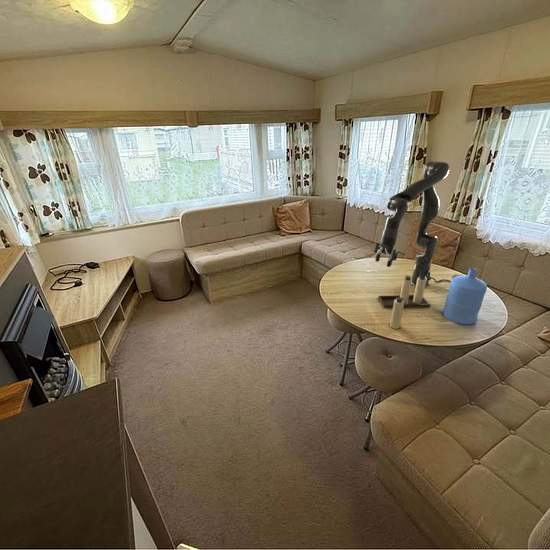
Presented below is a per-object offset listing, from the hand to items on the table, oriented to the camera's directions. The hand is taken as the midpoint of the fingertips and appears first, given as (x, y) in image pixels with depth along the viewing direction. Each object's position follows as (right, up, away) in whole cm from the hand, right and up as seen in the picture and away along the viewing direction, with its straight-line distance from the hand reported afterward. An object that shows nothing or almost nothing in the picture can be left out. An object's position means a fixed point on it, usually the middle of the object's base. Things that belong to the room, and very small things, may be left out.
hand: (382, 263), depth 166 cm
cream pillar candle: (+2, -33, -13) cm, 35 cm away
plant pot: (+50, -19, +13) cm, 55 cm away
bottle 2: (+22, -22, +7) cm, 32 cm away
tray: (+14, -23, +7) cm, 28 cm away
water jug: (+38, -29, -7) cm, 49 cm away
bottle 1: (+14, -22, +7) cm, 27 cm away
